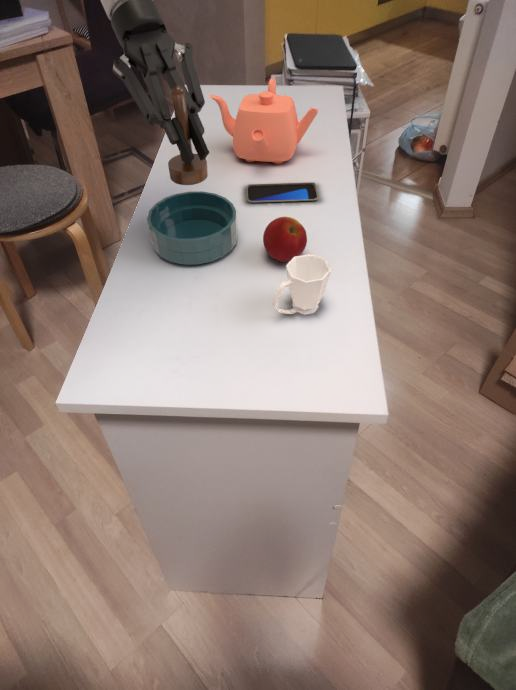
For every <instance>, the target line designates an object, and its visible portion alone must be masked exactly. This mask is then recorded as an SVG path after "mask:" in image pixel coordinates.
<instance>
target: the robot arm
mask: <svg viewBox="0 0 516 690" xmlns="http://www.w3.org/2000/svg"><path fill="white" fill-rule="evenodd" d="M100 2H101V5H102V8H103V10H104V11H105V14H106V17H107V18H108V20H109V21H110V25H111V27H112V30H113V32H114V34H115V36H116V39H117V41H118V42H119V45H120V46H121V50H122V51H121V56H120V57H116V58H114V60H113V65H112V73H113V74H114V75H115V76H116V77H117V78H118V79H120V81H122V83H123V84H124V86H125V87H126V89H127V91H128V92H129V94H130V96H131V97H132V99H133V100H134V102H135V103H136V105H137V107H138V109H139V110H140V112H141V114H142V115H143V117H144V119H145V120H146V122H147V124H148V125H150V126H155V125H158V126H159V128H160V129H163V130H164V132H165V135H166V136H167V139H168V141H169V143H170V144H171V145H172V146H174V145H176V146H177V148H178V151H179V154H180V153H181V156H182V158H183V160H184V162H185V164H186V165H189V164H190V163H191V162H192V160H193V159H194V155H193V149H192V150H191V148H190V146H189V144H188V141H187V139H186V137H185V135H184V132H183V130H182V128H181V126H180V123H179V121H178V119H177V117H175V116H174V117H172V114H171V112H170V109H169V106H168V102H167V101H166V98H165V97H166V96H165V94H164V91H163V88H162V86H161V83H160V80H159V77H158V74H159V75H161V77H162V79H163V80H164V81H165V82H166V83H167V85H168V87H169V89H170V90H171V91H172V88H173V87H174V86H175V85H181V86H182V87H183V88H184V90H185V95H186V103H187V111H188V120H189V128H190V137H191V143H192V144H193V147H194V149H195V151H196V154H198V156H199V158H200V160H204V159H205V158H206V159H207V157H208V155H209V154H210V150H209V148H208V145H207V143H206V141H205V139H204V134H205V127H204V125H203V122H202V120H201V118H200V116H199V113H200V112H201V111H202V110H203V107H204V105H205V104H206V101H205V98H204V93H203V91H202V90H203V89H202V87H201V84H200V81H199V77H198V74H197V71H196V67H195V64H194V59H193V45H192V43H190V42H185V44H184V45H183V44H180V43H177V42H175V40H174V38H173V37H172V36H171V35H170V34H169V33H168V30H167V27H166V24H165V22H164V20H163V17H162V14H161V12H160V10H159V8H158V5H157V3H156V2H155V1H154V0H100ZM174 54H175V55H176V58H177V61H178V62H179V63H180V69H181V73H182V76H183V78H184V81H185V83H184V82H183V80H182V78H181V76H180V73H179V72H178V71H177V66H176V64H175V62H174V60H173V59H174ZM132 68H134V69H136V71H138V72H140V73H141V76H142V79H143V82H144V84H145V85H146V86H147V89H148V93H149V95H148V94H147V92H146V90H145V88H144V87H143V86H142V84H141V82H140V80H139V79H138V77H137V76H136V73H135V72H134V70H133V69H132ZM150 98H151V99H150ZM171 117H172V118H171Z"/></svg>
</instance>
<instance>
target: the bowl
mask: <svg viewBox="0 0 516 690" xmlns="http://www.w3.org/2000/svg"><path fill="white" fill-rule="evenodd" d="M146 222H147V226H148V231H149V236H150V241H151V245H152V248H153V251H155V253H156V254H157V255H158V256H159V257H160V258H162V259H164V260H165V261H168V262H171V263H175V264H179V265H201V264H206V263H211V262H214V261H217V260H219V259H221V258H223V257H225V256H227V255H228V254H229V253H230V252H231V251H232V250H233V249H234V247H235V246H236V245H237V242H238V218H237V210H236V207H235V206H234V203H233V202H231V201H230V200H229V199H228V198H227V197H224V196H222V195H220V194H218V193H215V192H214V193H213V192H208V191H194V190H193V191H185V192H179V193H174V194H171V195H169V196H167V197H166V196H165V197H164V198H162V199H161V200H159V201H158V202H156V203H155V204H153V206H152V207H151V208H150V209H149V211H148V214H147V217H146Z"/></svg>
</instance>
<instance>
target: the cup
mask: <svg viewBox="0 0 516 690" xmlns="http://www.w3.org/2000/svg"><path fill="white" fill-rule="evenodd" d="M285 271H286V276H287V280H285V281H283V282H282V283H281V284H279V286H278V287H277V289H276V290H275V291H274V295H273V300H272V306H273V309H275V311H277V312H279V313H280V314H286V315H292V314H296V313H298V314H301V315H304V316H305V315H309V314H314V313H315V312H316V311H317V310H318V309H319V307H320V306H319V303H320V302H321V301H322V298H323V296H324V293H325V291H326V287H327V284H328V281H329V278H330V275H331V272H332V269H331V266H330V264H329V263H328V261H327V260H326V259H325V258H323V257H320V256H318V255H315V254H311V253H308V254H301V255H299V256H295V257H293V258H292V260H291V261H288V263H286V265H285ZM287 287H288V291H289V294H290V297H291V300H292V302H291V305H292V308H291V309H283V308H279V307H278V301H279V298H280V295H281V294H282V292H283V291H284V290H285V289H286V288H287Z"/></svg>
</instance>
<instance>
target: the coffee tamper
mask: <svg viewBox="0 0 516 690" xmlns="http://www.w3.org/2000/svg"><path fill="white" fill-rule="evenodd" d="M171 99H172V104H173V112H174V118H175V117H177V119H178V121H179V123H180V126H181V128H182V130H183V132H184V135H185V137H186V139H187V141H188V144H189V146H190V148H191V150H192V151H193V147H192V140H191V137H190V128H189V120H188V111H187V103H186V95H185V90H184V88H183V87H182V86H181V85H175V86H174V87H173V88H172V90H171ZM192 153H193V152H192ZM193 155H194V159H193V160H192V162H191V163H190V164H189V165H186V164H185V162H184V160H183V158H182V156H181V153H180V152H179V154H177V155H174V156H172V157H171V158H170V159H169V160H168V162H167V166H168V172H169V178H170V180H171V182H173V183H174V184H177V185H181V186H194V185H198V184H201V183H202V182H204V181H205V180H207V178H208V176H209V173H208V172H209V170H208V161H207V157H206V158H205V159H204V160H200V158H199V156H198V154H197V153H193Z"/></svg>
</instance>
